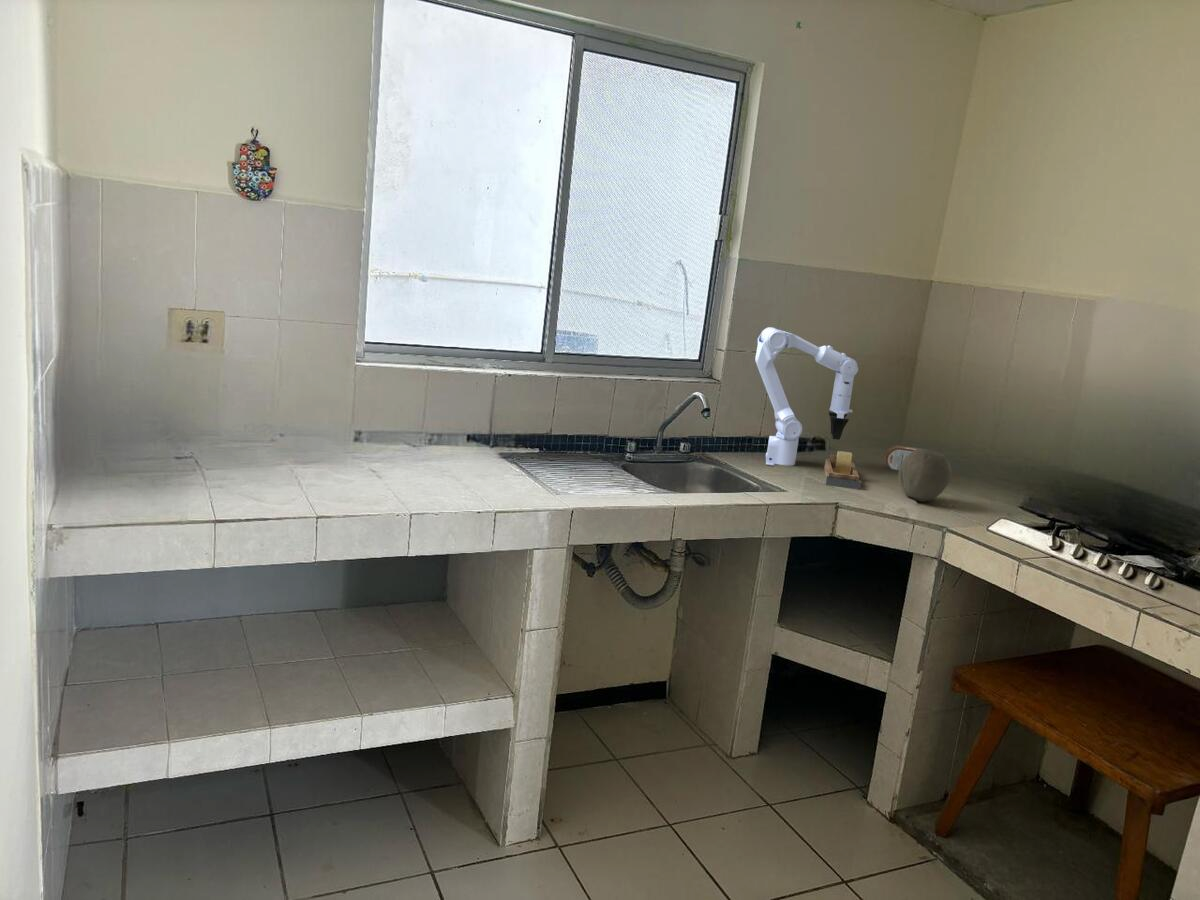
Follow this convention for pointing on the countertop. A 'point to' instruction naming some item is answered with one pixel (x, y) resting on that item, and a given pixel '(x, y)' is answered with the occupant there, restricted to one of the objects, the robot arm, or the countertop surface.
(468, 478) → the countertop surface
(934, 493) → the cantaloupe
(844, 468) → the block
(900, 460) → the tin
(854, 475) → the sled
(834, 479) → the track
